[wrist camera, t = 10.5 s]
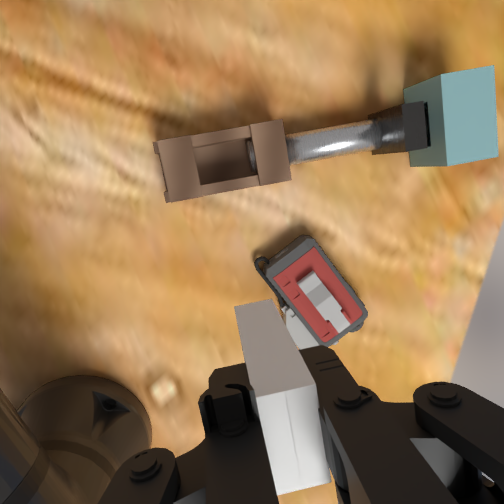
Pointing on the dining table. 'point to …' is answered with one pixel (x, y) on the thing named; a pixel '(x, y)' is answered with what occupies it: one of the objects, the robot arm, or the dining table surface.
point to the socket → (457, 117)
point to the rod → (360, 136)
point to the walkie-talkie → (312, 294)
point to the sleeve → (223, 160)
